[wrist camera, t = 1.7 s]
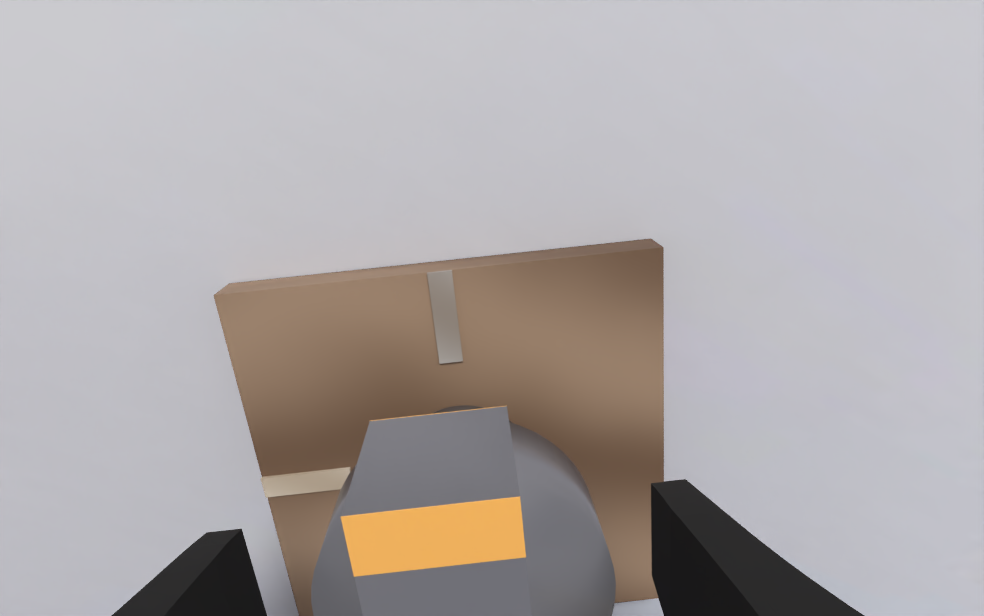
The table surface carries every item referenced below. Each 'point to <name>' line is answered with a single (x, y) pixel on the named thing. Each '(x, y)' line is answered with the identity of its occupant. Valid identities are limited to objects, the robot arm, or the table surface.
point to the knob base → (458, 377)
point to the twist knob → (462, 525)
